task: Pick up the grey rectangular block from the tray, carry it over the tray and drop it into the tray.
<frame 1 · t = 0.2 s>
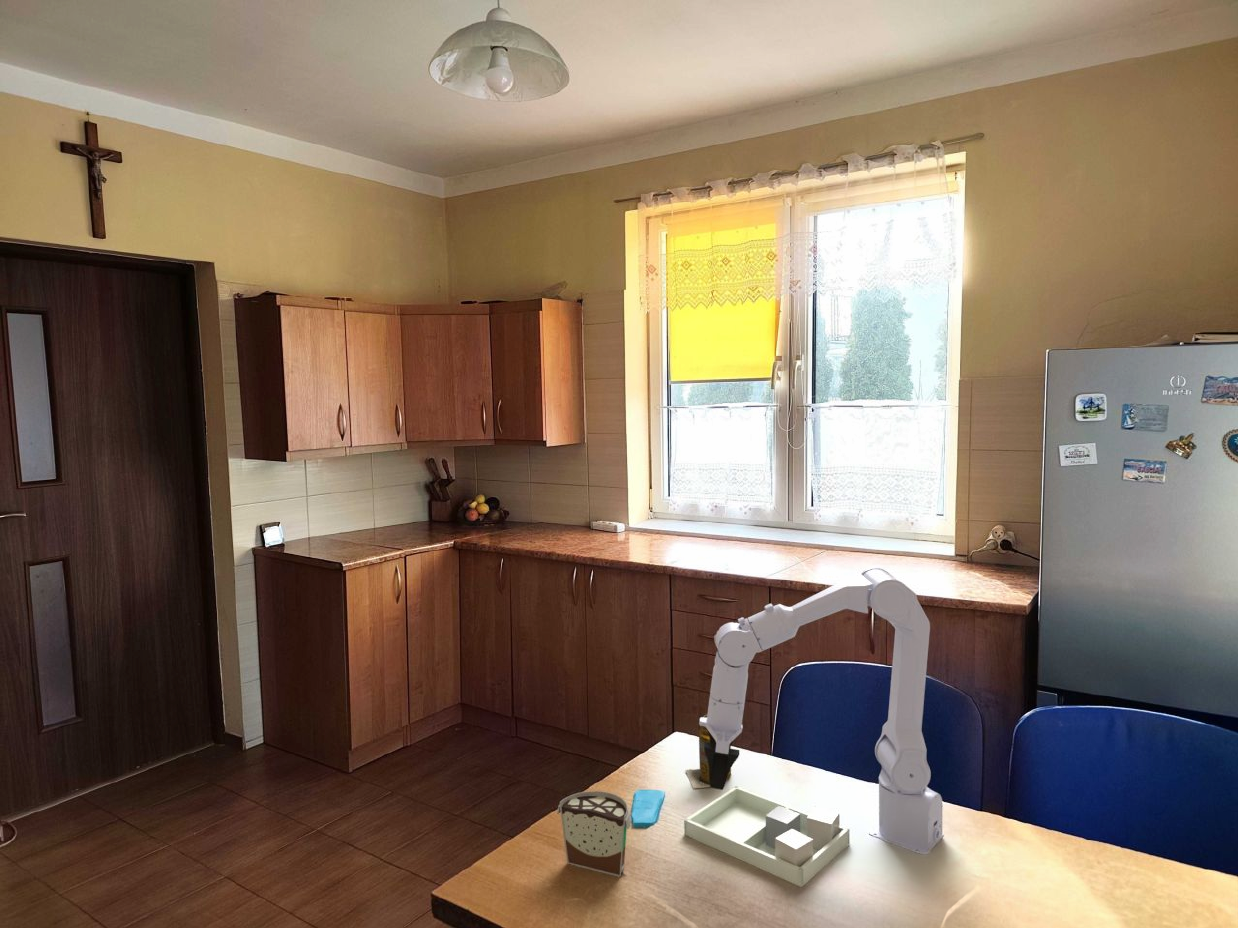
hand: (717, 776, 131), 10 cm above the table, tool pointing down, fingers open, 7 cm apart
light grey boxy piece 1: (823, 844, 128), resting on tray
grey rectangular block: (783, 844, 128), resting on tray
food container: (602, 860, 126), on the table
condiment: (710, 779, 152), on the table
granite stone 2: (794, 869, 121), resting on tray
sponge: (645, 812, 142), on the table
tray: (765, 841, 130), on the table
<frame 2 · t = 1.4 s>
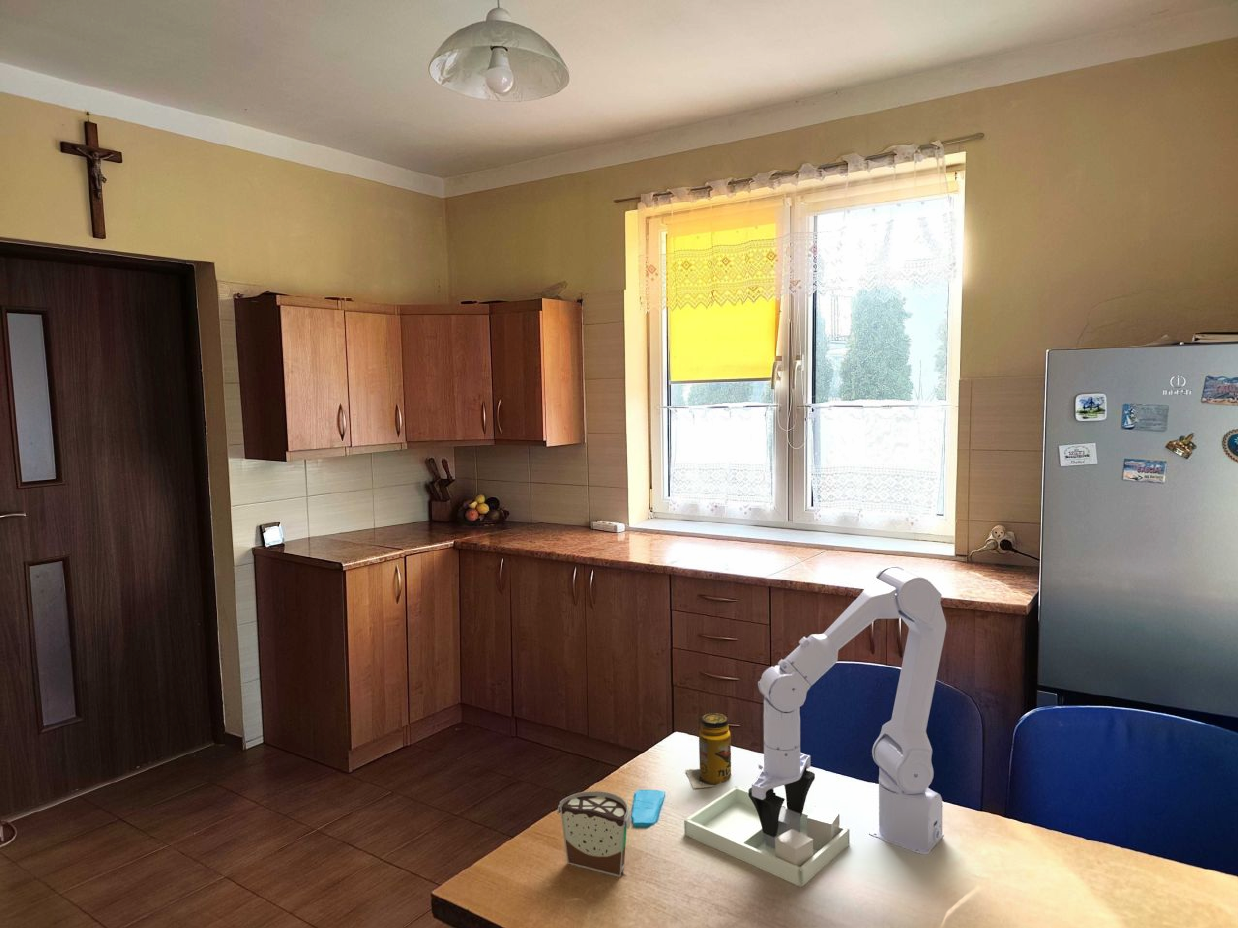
hand: (782, 824, 128), 4 cm above the table, tool pointing down, fingers open, 7 cm apart
nothing on the table moved.
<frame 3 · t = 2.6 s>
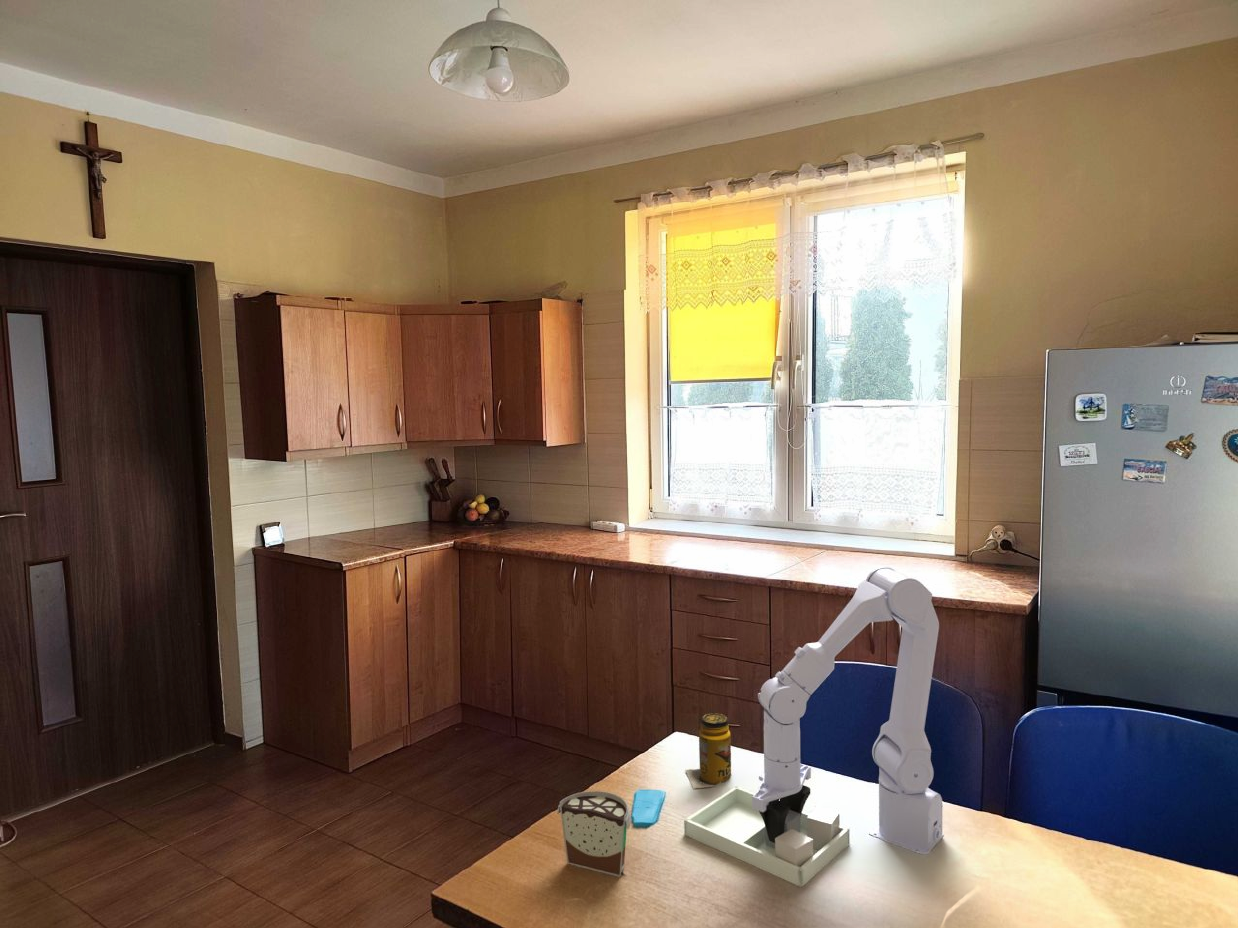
hand: (783, 835, 128), 2 cm above the table, tool pointing down, fingers closed on grey rectangular block, 4 cm apart
grey rectangular block: (783, 844, 128), resting on tray, touching gripper
everything else where it was.
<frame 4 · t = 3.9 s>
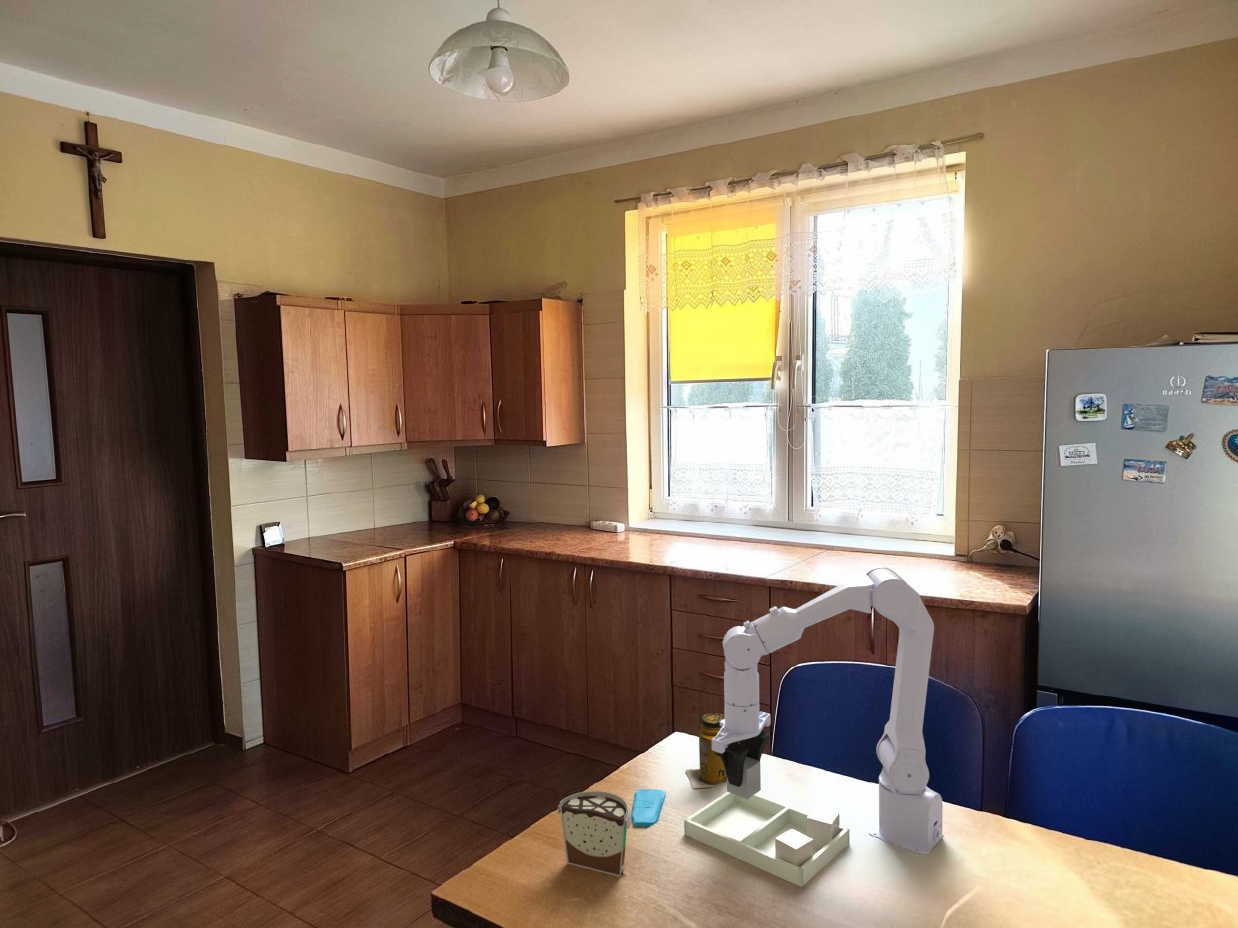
hand: (742, 779, 133), 9 cm above the table, tool pointing down, fingers closed on grey rectangular block, 4 cm apart
grey rectangular block: (743, 790, 133), point 7 cm above the table, touching gripper
everything else where it was.
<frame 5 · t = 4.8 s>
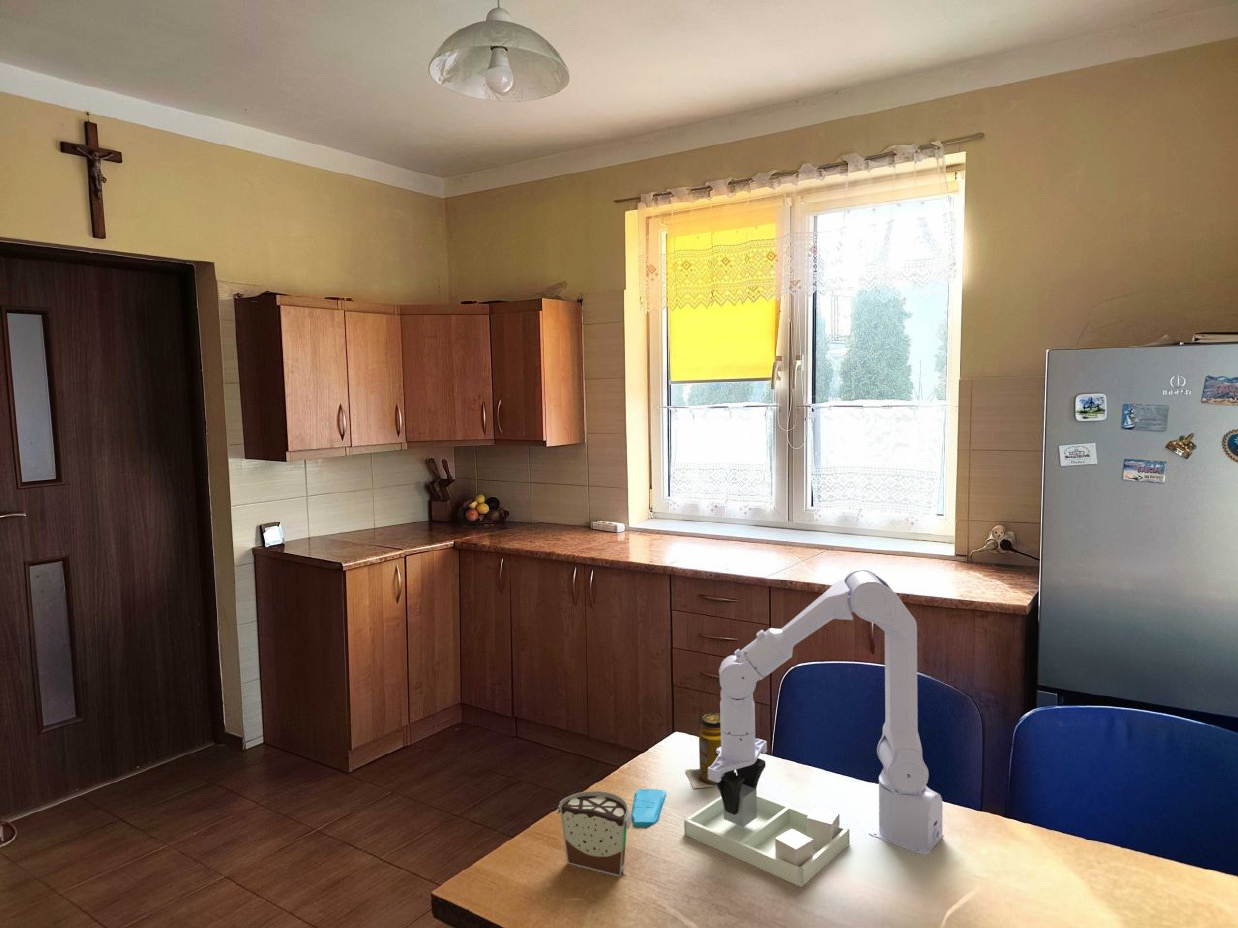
hand: (739, 806, 134), 4 cm above the table, tool pointing down, fingers closed on grey rectangular block, 4 cm apart
grey rectangular block: (740, 818, 134), point 2 cm above the table, touching gripper
everything else where it was.
when the fingers open (4 cm above the table, at t = 5.4 s): grey rectangular block drops 1 cm, resting on tray.
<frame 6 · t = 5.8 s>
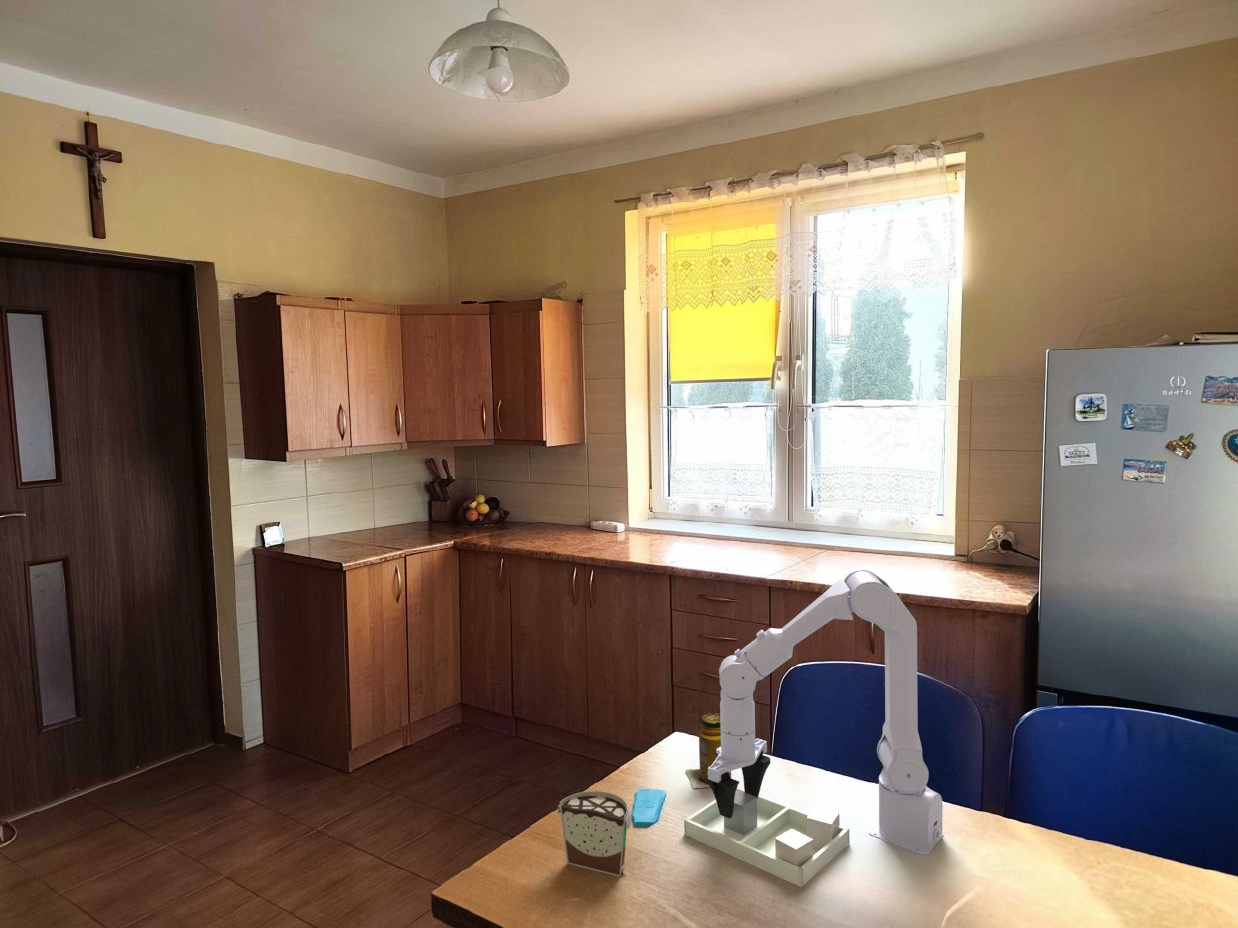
hand: (739, 806, 134), 4 cm above the table, tool pointing down, fingers open, 7 cm apart
grey rectangular block: (740, 826, 134), resting on tray
everything else where it was.
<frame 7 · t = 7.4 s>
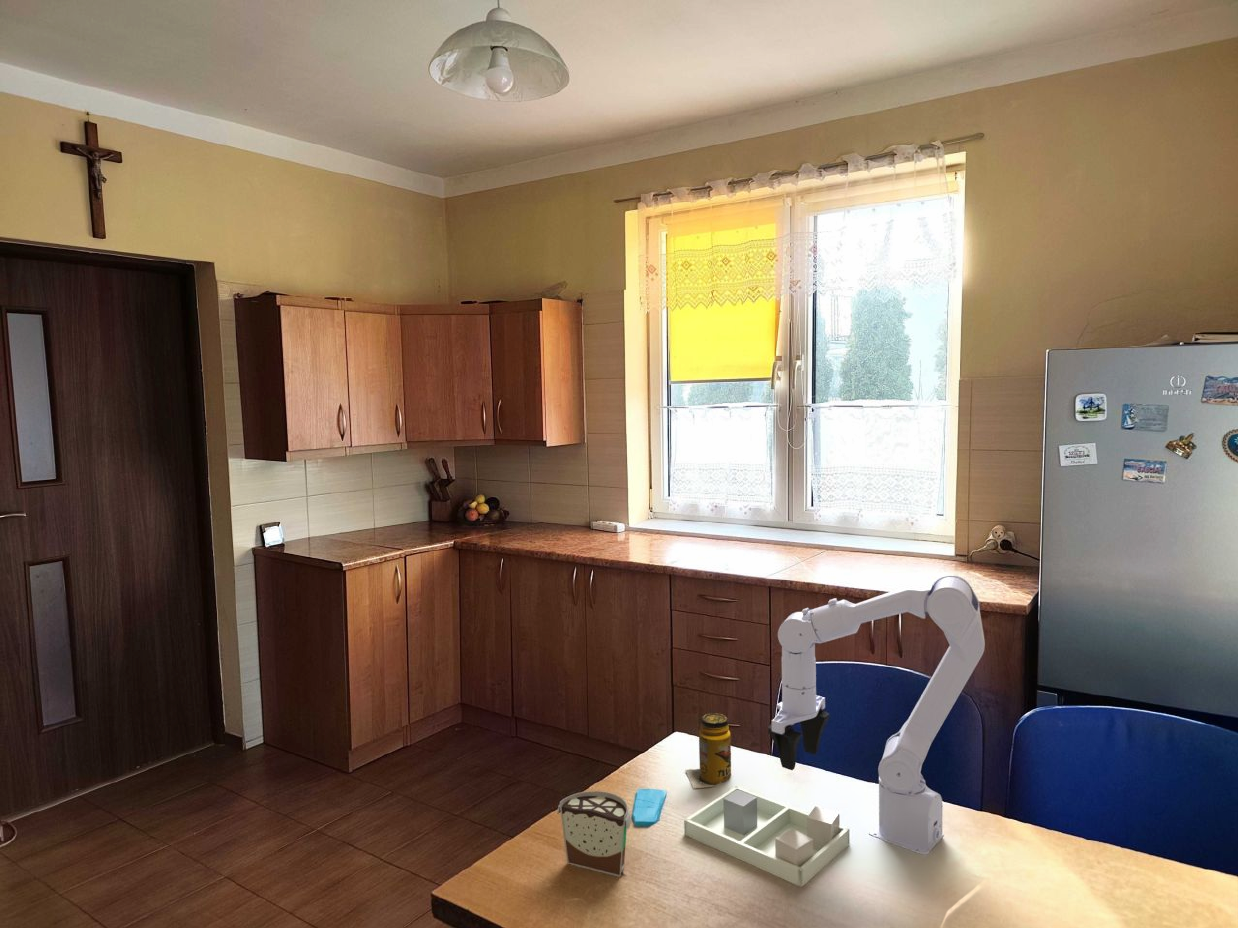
hand: (799, 759, 137), 10 cm above the table, tool pointing down, fingers open, 7 cm apart
nothing on the table moved.
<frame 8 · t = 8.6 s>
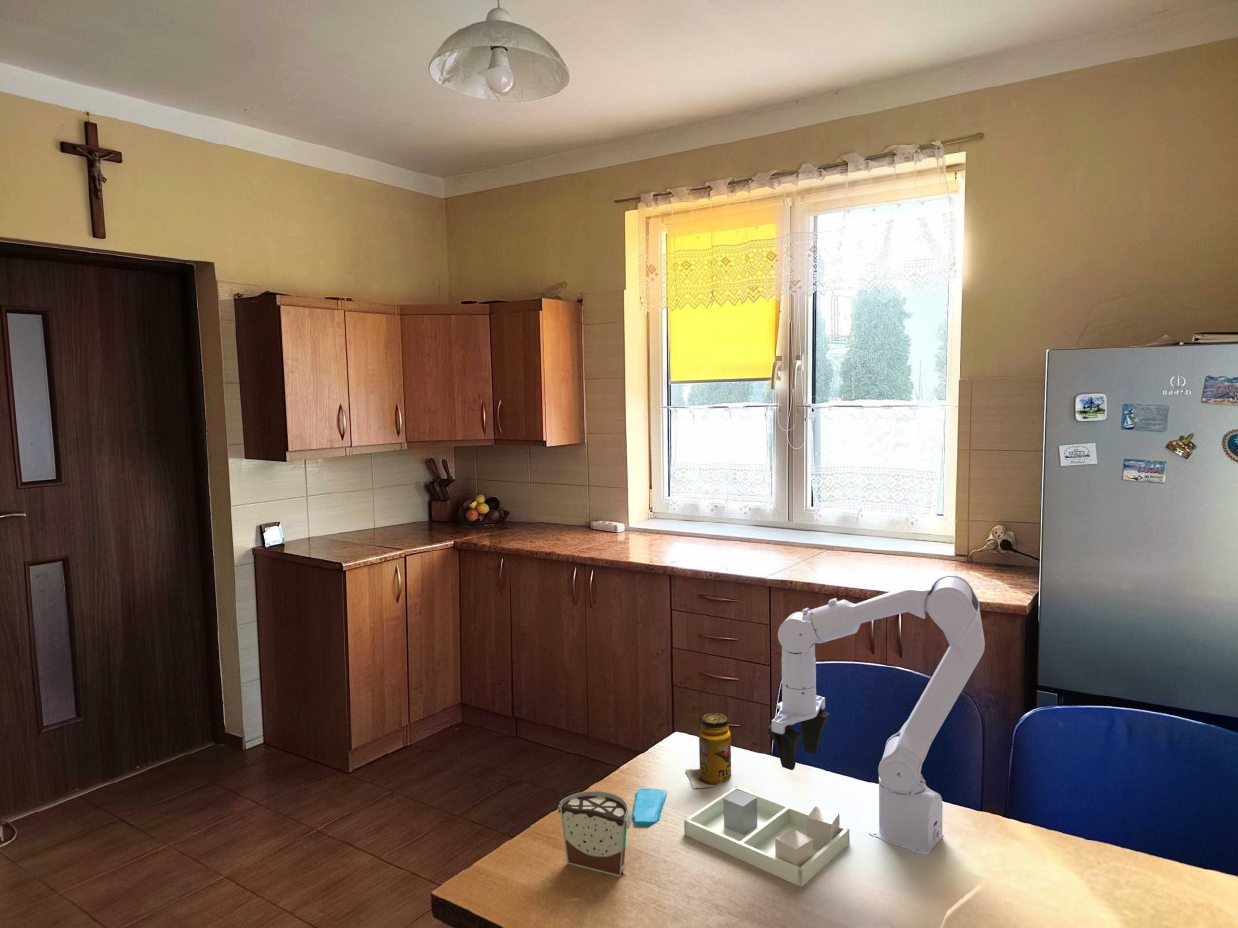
hand: (799, 759, 137), 10 cm above the table, tool pointing down, fingers open, 7 cm apart
nothing on the table moved.
at the end: grey rectangular block inside the target area (0.6 cm from its centre), point 0.5 cm above the table; the gripper is holding nothing; light grey boxy piece 1 inside the target area (5.1 cm from its centre), point 0.5 cm above the table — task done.
